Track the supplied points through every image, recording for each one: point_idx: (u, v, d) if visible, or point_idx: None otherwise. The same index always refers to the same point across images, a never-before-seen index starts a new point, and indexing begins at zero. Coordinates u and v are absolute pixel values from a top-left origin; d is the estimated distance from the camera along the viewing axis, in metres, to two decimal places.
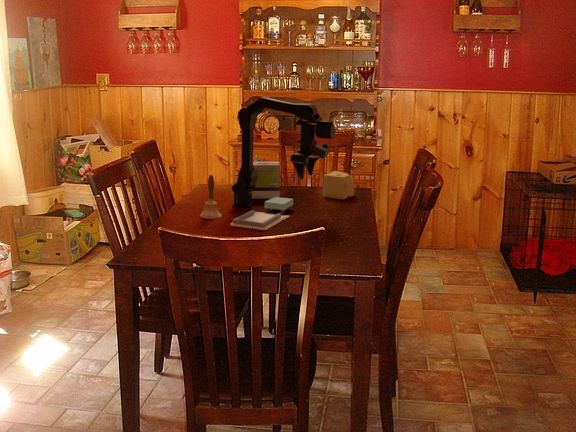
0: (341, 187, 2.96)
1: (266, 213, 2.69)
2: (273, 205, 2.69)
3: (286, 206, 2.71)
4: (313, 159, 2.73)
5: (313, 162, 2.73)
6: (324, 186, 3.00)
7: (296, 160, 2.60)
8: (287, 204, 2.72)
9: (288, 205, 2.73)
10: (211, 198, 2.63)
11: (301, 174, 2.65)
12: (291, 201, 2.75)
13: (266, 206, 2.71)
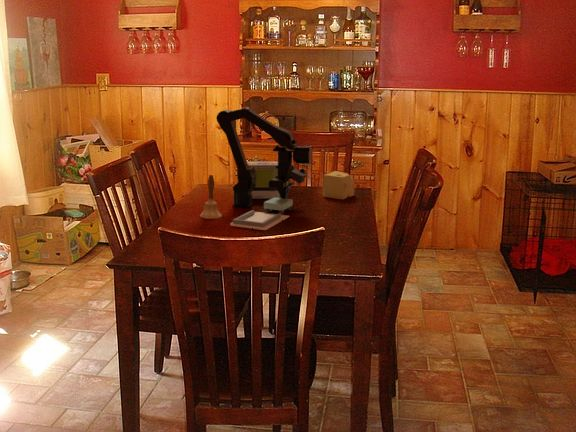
0: (341, 187, 2.96)
1: (266, 213, 2.69)
2: (272, 205, 2.69)
3: (285, 206, 2.70)
4: None
5: (287, 188, 2.77)
6: (324, 186, 3.00)
7: (274, 185, 2.68)
8: (287, 204, 2.71)
9: (287, 205, 2.72)
10: (211, 198, 2.63)
11: (283, 196, 2.77)
12: (290, 201, 2.74)
13: (265, 206, 2.70)
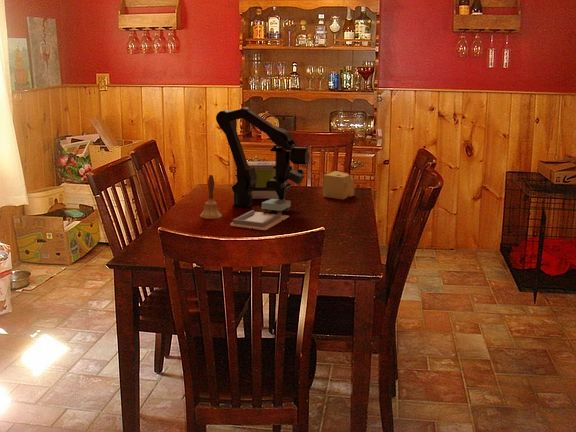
0: (341, 187, 2.96)
1: (266, 213, 2.69)
2: (270, 205, 2.67)
3: (283, 207, 2.68)
4: None
5: (285, 189, 2.75)
6: (324, 186, 3.00)
7: (272, 186, 2.66)
8: (285, 205, 2.69)
9: (285, 206, 2.70)
10: (211, 198, 2.63)
11: (281, 197, 2.75)
12: (288, 202, 2.72)
13: (263, 207, 2.68)
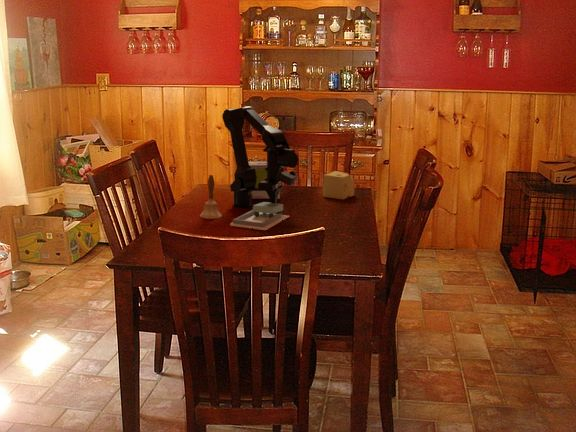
0: (341, 187, 2.96)
1: (266, 213, 2.69)
2: (262, 208, 2.59)
3: (275, 210, 2.61)
4: None
5: (276, 191, 2.68)
6: (324, 186, 3.00)
7: (263, 188, 2.59)
8: (277, 208, 2.62)
9: (278, 210, 2.62)
10: (211, 198, 2.63)
11: (273, 199, 2.67)
12: (281, 206, 2.65)
13: (255, 210, 2.60)
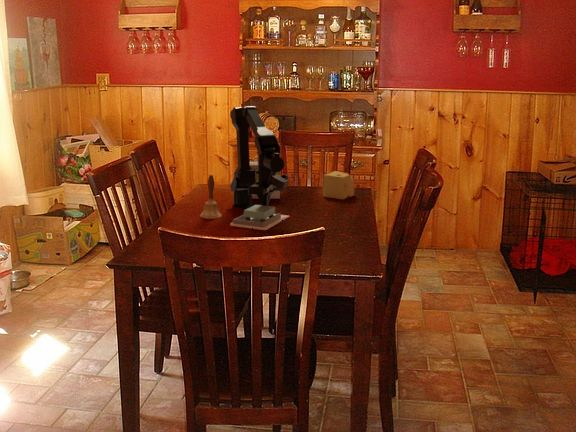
0: (341, 187, 2.96)
1: None
2: (253, 213, 2.52)
3: (267, 215, 2.53)
4: None
5: (268, 195, 2.61)
6: (324, 186, 3.00)
7: (253, 192, 2.52)
8: (268, 212, 2.54)
9: (269, 214, 2.55)
10: (211, 198, 2.63)
11: (264, 203, 2.60)
12: (273, 209, 2.57)
13: (246, 215, 2.53)
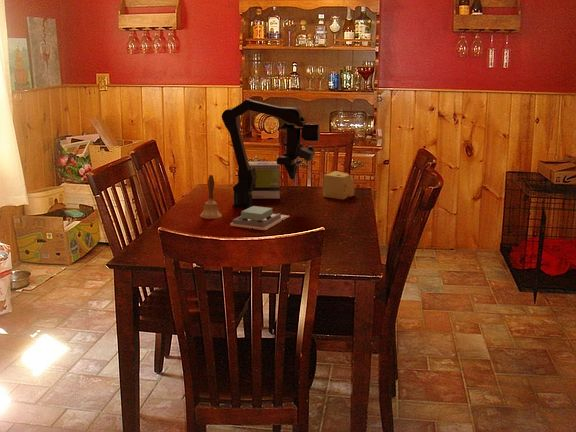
0: (341, 187, 2.96)
1: None
2: (250, 215, 2.50)
3: (264, 216, 2.51)
4: None
5: (295, 166, 2.75)
6: (324, 186, 3.00)
7: (282, 163, 2.66)
8: (266, 214, 2.52)
9: (267, 215, 2.53)
10: (211, 198, 2.63)
11: (291, 174, 2.74)
12: (270, 211, 2.55)
13: (243, 216, 2.51)
